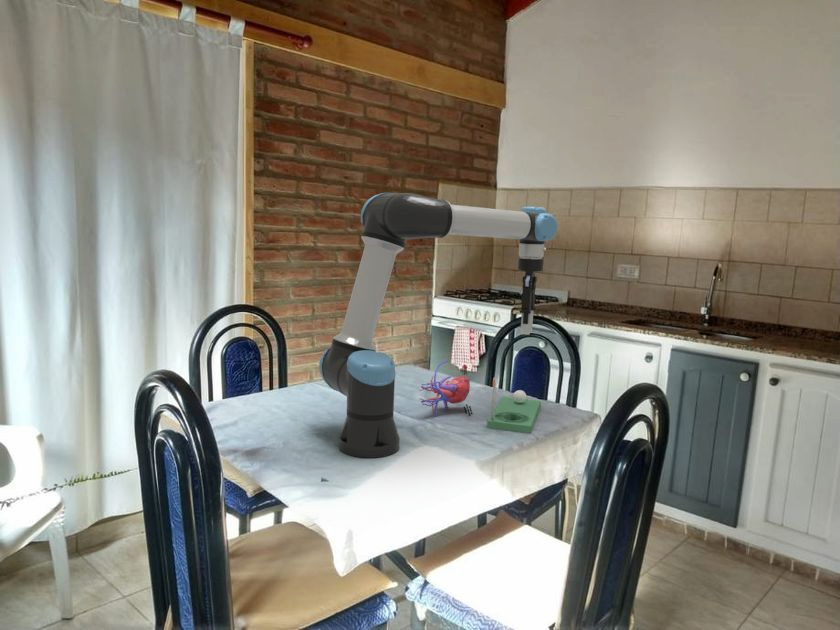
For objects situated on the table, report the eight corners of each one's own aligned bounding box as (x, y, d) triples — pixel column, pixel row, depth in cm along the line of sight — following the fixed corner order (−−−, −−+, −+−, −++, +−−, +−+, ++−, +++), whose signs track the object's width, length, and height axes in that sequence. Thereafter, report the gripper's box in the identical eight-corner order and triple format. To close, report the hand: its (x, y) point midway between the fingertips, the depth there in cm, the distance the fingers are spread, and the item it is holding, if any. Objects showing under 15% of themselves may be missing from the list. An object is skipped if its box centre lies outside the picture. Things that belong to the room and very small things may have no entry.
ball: (525, 405, 195) (525, 392, 194) (511, 404, 196) (512, 391, 195) (526, 402, 199) (527, 389, 198) (513, 400, 200) (514, 388, 199)
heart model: (483, 416, 193) (438, 416, 179) (459, 416, 200) (414, 417, 186) (481, 359, 196) (437, 355, 182) (457, 362, 203) (412, 358, 189)
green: (529, 434, 175) (533, 384, 173) (486, 429, 178) (488, 379, 176) (540, 407, 201) (543, 363, 198) (502, 402, 204) (504, 359, 202)
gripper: (540, 260, 187) (535, 338, 191) (546, 256, 205) (541, 328, 208) (514, 258, 189) (509, 336, 193) (522, 255, 207) (518, 326, 210)
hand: (526, 332), depth 201 cm, fingers open, 6 cm apart
